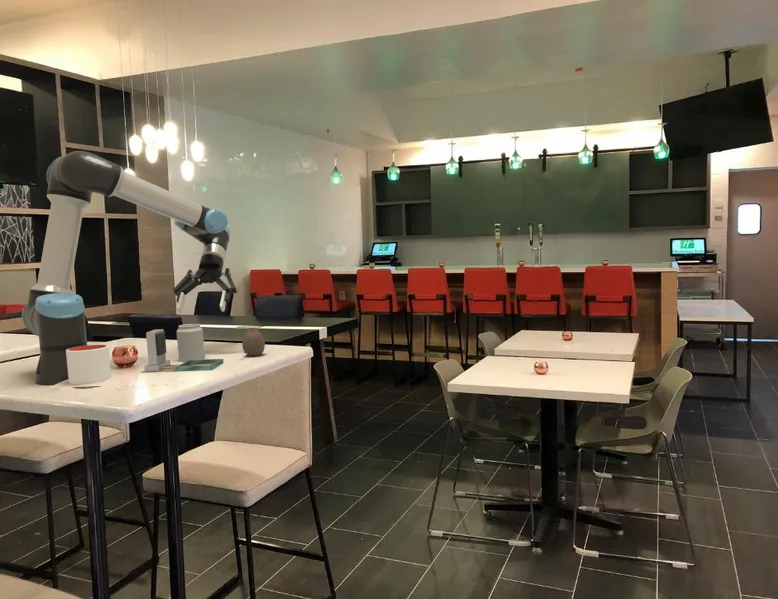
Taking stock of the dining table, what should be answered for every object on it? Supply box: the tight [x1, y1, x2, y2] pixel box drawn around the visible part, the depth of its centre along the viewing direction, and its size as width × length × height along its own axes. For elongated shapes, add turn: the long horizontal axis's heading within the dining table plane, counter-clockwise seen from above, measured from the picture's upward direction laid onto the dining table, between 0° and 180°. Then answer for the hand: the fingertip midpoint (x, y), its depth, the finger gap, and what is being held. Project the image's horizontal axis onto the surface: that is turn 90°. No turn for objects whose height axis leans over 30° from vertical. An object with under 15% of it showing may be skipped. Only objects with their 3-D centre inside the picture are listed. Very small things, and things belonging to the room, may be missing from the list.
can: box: [176, 323, 206, 363], centre depth 187 cm, size 8×8×12 cm
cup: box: [66, 344, 112, 390], centre depth 163 cm, size 10×10×10 cm
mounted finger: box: [144, 328, 171, 373], centre depth 174 cm, size 4×8×11 cm, turn 178°
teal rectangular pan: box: [139, 358, 224, 374], centre depth 175 cm, size 20×10×3 cm, turn 88°
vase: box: [241, 327, 266, 358], centre depth 198 cm, size 7×7×9 cm
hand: (200, 309), depth 197 cm, fingers open, 13 cm apart
